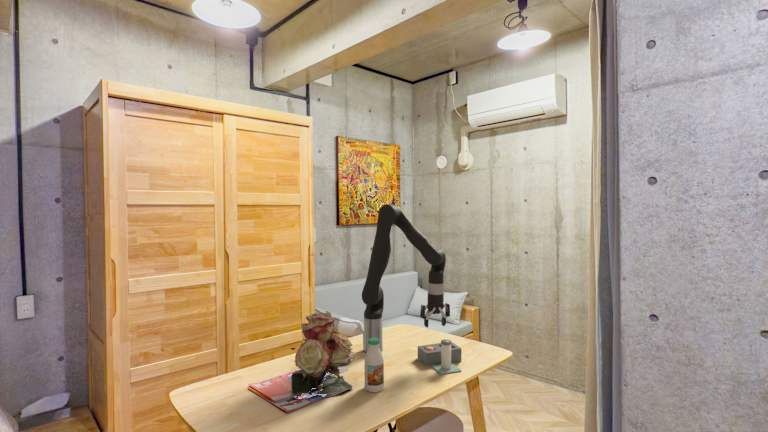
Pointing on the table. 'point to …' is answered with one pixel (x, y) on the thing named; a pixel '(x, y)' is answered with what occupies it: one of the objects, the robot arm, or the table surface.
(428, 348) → the orange egg
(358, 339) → the table surface
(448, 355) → the cartridge
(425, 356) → the housing
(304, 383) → the rose bouquet
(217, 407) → the table surface
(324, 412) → the table surface
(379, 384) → the milk bottle
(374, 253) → the robot arm
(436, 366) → the mat
